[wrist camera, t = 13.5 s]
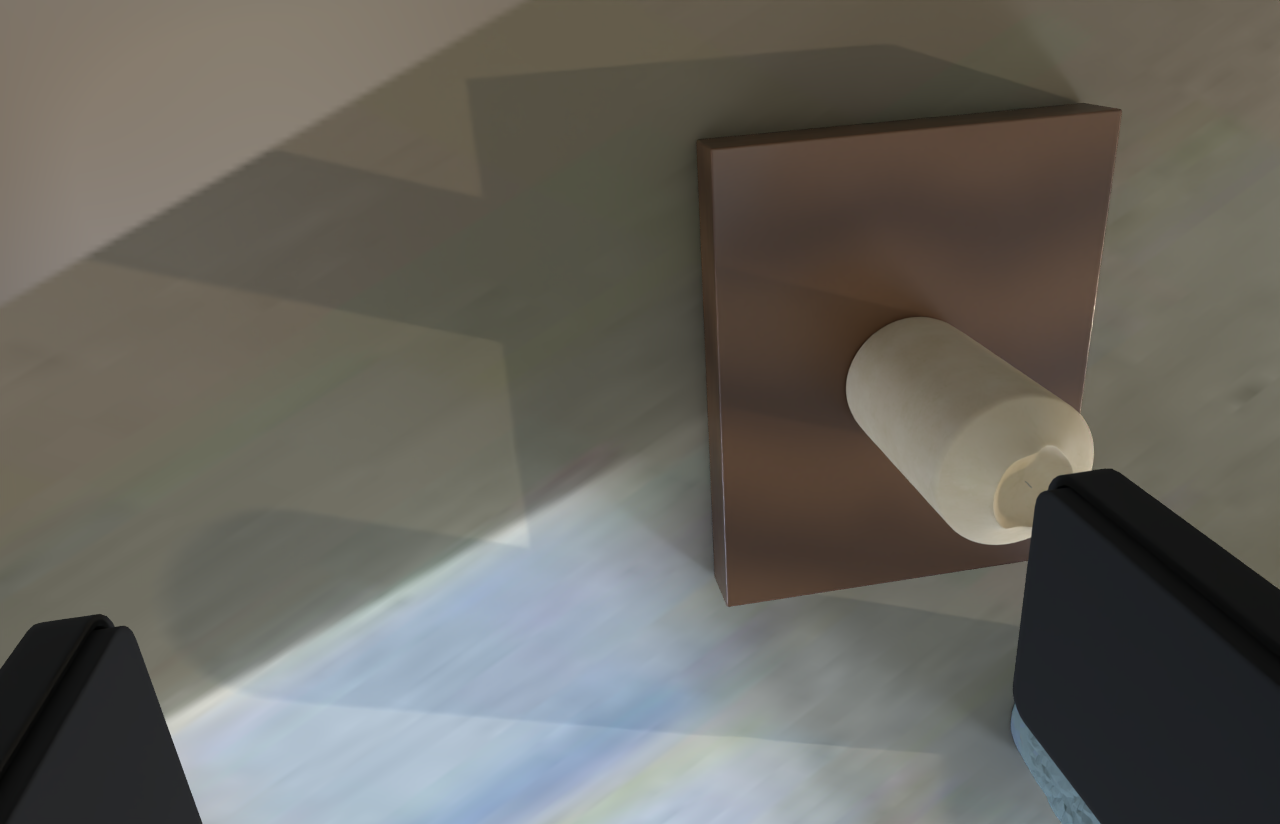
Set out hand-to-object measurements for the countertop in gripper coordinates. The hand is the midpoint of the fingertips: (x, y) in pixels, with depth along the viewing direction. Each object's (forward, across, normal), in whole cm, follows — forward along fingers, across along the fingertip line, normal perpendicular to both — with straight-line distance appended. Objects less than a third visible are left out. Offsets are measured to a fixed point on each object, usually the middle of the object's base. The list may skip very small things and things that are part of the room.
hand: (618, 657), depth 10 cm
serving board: (+28, -15, +9) cm, 33 cm away
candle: (+26, -15, +9) cm, 31 cm away
